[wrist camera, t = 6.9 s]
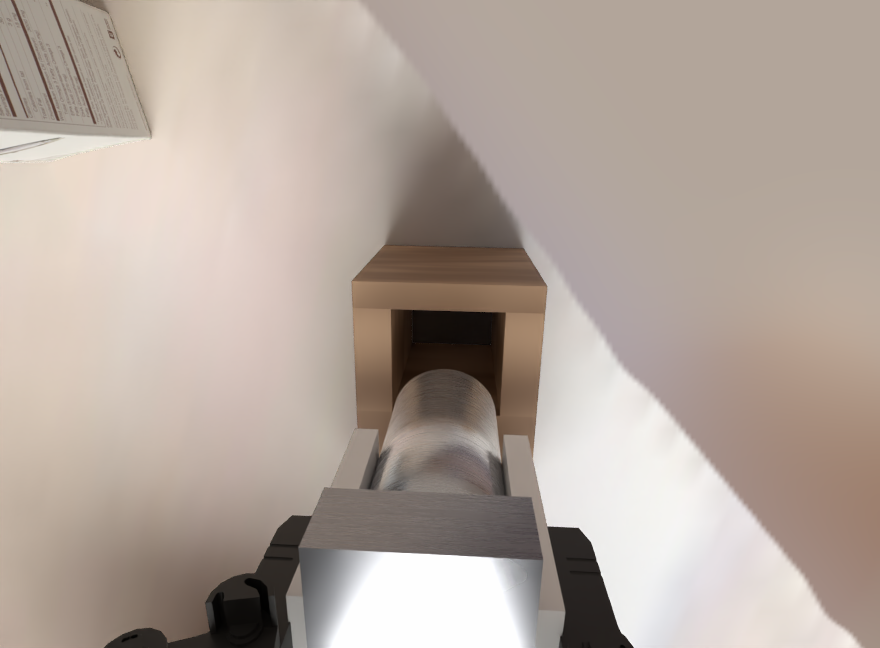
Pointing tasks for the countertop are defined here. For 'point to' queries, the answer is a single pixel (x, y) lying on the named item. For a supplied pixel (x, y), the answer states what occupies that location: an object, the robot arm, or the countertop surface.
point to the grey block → (426, 535)
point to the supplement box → (63, 82)
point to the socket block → (495, 366)
